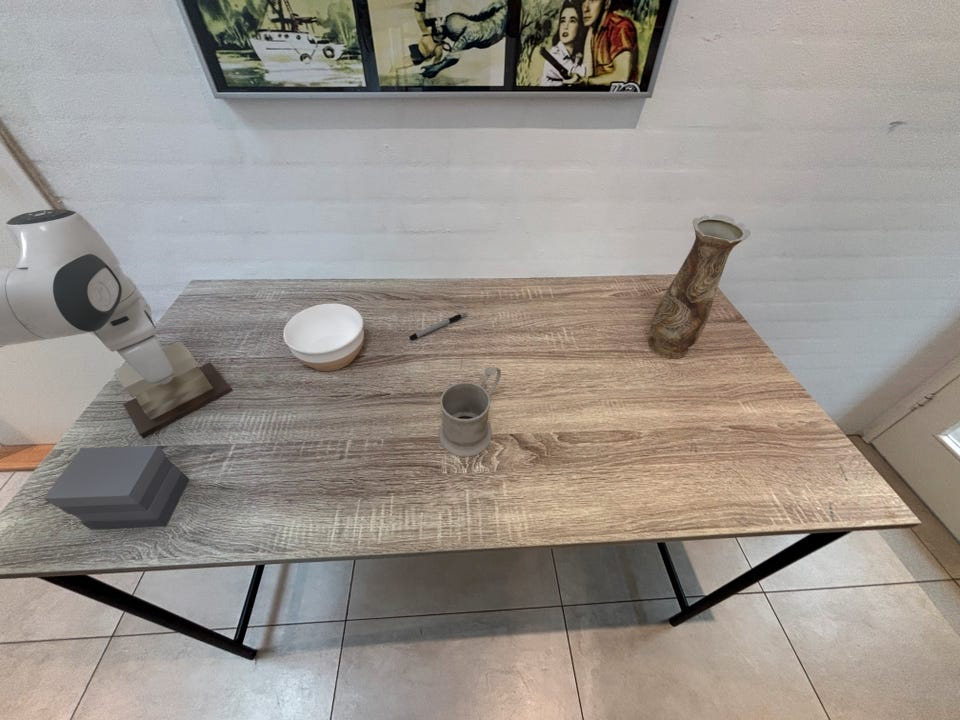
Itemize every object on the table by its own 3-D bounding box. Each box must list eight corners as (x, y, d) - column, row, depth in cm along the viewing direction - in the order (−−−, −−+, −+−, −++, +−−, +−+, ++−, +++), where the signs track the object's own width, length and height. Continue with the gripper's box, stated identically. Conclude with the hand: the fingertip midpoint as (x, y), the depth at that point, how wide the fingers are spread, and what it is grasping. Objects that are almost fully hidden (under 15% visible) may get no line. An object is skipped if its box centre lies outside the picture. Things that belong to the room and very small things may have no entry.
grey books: (90, 529, 62) (43, 498, 55) (120, 481, 68) (80, 448, 61) (166, 526, 63) (128, 495, 56) (189, 479, 68) (158, 445, 61)
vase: (700, 354, 93) (768, 232, 72) (665, 367, 90) (725, 244, 69) (667, 327, 100) (721, 208, 79) (633, 338, 97) (680, 218, 76)
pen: (409, 339, 95) (408, 334, 94) (466, 313, 102) (466, 309, 101) (411, 342, 94) (411, 337, 93) (469, 315, 101) (469, 311, 100)
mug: (467, 466, 71) (467, 425, 63) (427, 435, 76) (423, 393, 67) (516, 417, 79) (523, 375, 71) (478, 391, 84) (480, 349, 75)
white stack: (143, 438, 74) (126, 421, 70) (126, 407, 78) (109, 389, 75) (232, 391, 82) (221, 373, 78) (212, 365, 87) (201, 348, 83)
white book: (132, 397, 71) (123, 388, 69) (121, 379, 74) (113, 369, 72) (199, 365, 76) (192, 356, 75) (187, 350, 79) (180, 340, 78)
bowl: (384, 351, 91) (378, 323, 86) (323, 392, 82) (313, 364, 77) (339, 321, 98) (332, 294, 93) (279, 356, 89) (267, 328, 84)
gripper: (73, 290, 68) (122, 350, 78) (107, 350, 58) (159, 410, 68) (117, 276, 71) (158, 335, 81) (156, 330, 62) (199, 390, 71)
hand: (159, 370), depth 75 cm, fingers closed on white book, 6 cm apart
